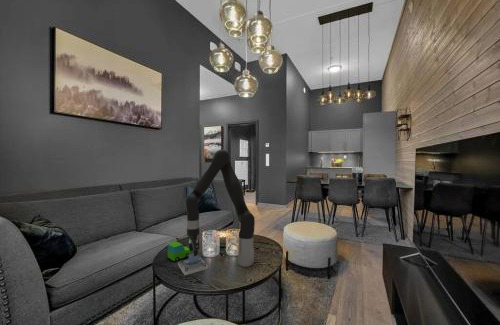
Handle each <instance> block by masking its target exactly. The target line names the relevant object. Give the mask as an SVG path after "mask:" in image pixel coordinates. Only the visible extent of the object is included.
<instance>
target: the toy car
mask: <svg viewBox="0 0 500 325" xmlns="http://www.w3.org/2000/svg"><path fill="white" fill-rule="evenodd" d="M189 254H192V251H190V250H189V247H188V246H184V245H183V244H182V243H180V242H178V241H173V242H169V243H167V258H168V259H170V260H171V261H173V262H177V263H178V262H179V261H180V260H182V259H184V258H186V259H189Z"/></svg>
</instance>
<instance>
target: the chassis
mask: <svg viewBox="0 0 500 325" xmlns="http://www.w3.org/2000/svg"><path fill="white" fill-rule="evenodd" d="M199 258H201V256H200V255H199ZM188 260H189V258H187V259H185V260H183V259H179V261H177V266H178V268H179V269H180V271H181V272H182V274H183V275H184V276H187V275H188V276H189V275H191V274H195V273H199V272H202V271H206V270H209V265H208V264H207V263H206V262H205V260H204V259H202V260H199V262H198V263H195V264H191V265H189V263H187V264H186V263H185V261H188Z"/></svg>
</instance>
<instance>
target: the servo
mask: <svg viewBox="0 0 500 325" xmlns="http://www.w3.org/2000/svg"><path fill="white" fill-rule="evenodd" d="M199 256H200V255H199V254H198V255H197V256H194V252H193V253H191V254H189V257H188V259H189V260H188V259H187V260H188V261H185V263H186V264H187V263H189V265H191V264H195V263H198V262H199V260H203V258H202V257H200V258H199Z"/></svg>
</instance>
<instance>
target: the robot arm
mask: <svg viewBox="0 0 500 325" xmlns="http://www.w3.org/2000/svg"><path fill="white" fill-rule="evenodd" d="M219 172H221V174H222V179H223V183H224V186H225V190H226V191H227V194H228V196H229V198H230V200H231V203H232V204H233V206H234V209H235V211H236V215H237V220H238V223H239V232H238V251H237V252H238V253H237V255H238V260H237V262H238V265H239V266H240V267H243V268H247V267H251V266H253V264H255V248H254V234H255V227H256V226H255V224H256V223H255V222H256V221H255V220H256V219H255V216H254V215H253V214H252V212H251V211H250V210H249V208H248V206H247V203H246V201H245V194H244V190H243V187H242V185H241V182H240V180H239V178H238V176H237V174H236V173H235V171H234V168H233V166H232V162H231V159H230V154H229V152H228V151H227V150H225V149H218V150H217V151H216V152H215V153H214V156H213V159H212V161H211V164H210V165H209V167H208V168H207V170H206V171H205V173H203V175H202V176H201V177H200V178H199V180H198V182H197V183H196V184H195V187H194V189H192V192H191V193H190V194H189V195H188V196H187V198H186V201H185V204H186V205H185V207H186V213H187V215H186V220H187V221H186V236H187V243H188V246H189V247H188V248H189V250H190V251H191V252H192V251H193V253H194V256H197V255H199V250H200V238H198V236H199V235H200V234H201V232H200V226H201V225H200V223H201V222H200V211H199V202H200V201H201V200H202V197H203V196H204V195H205V193H206V192H207V190H208V189H209V187H210V186H211V185H212V184H213V181H214V179H215V178H216V176H217V175H218V173H219Z"/></svg>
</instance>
